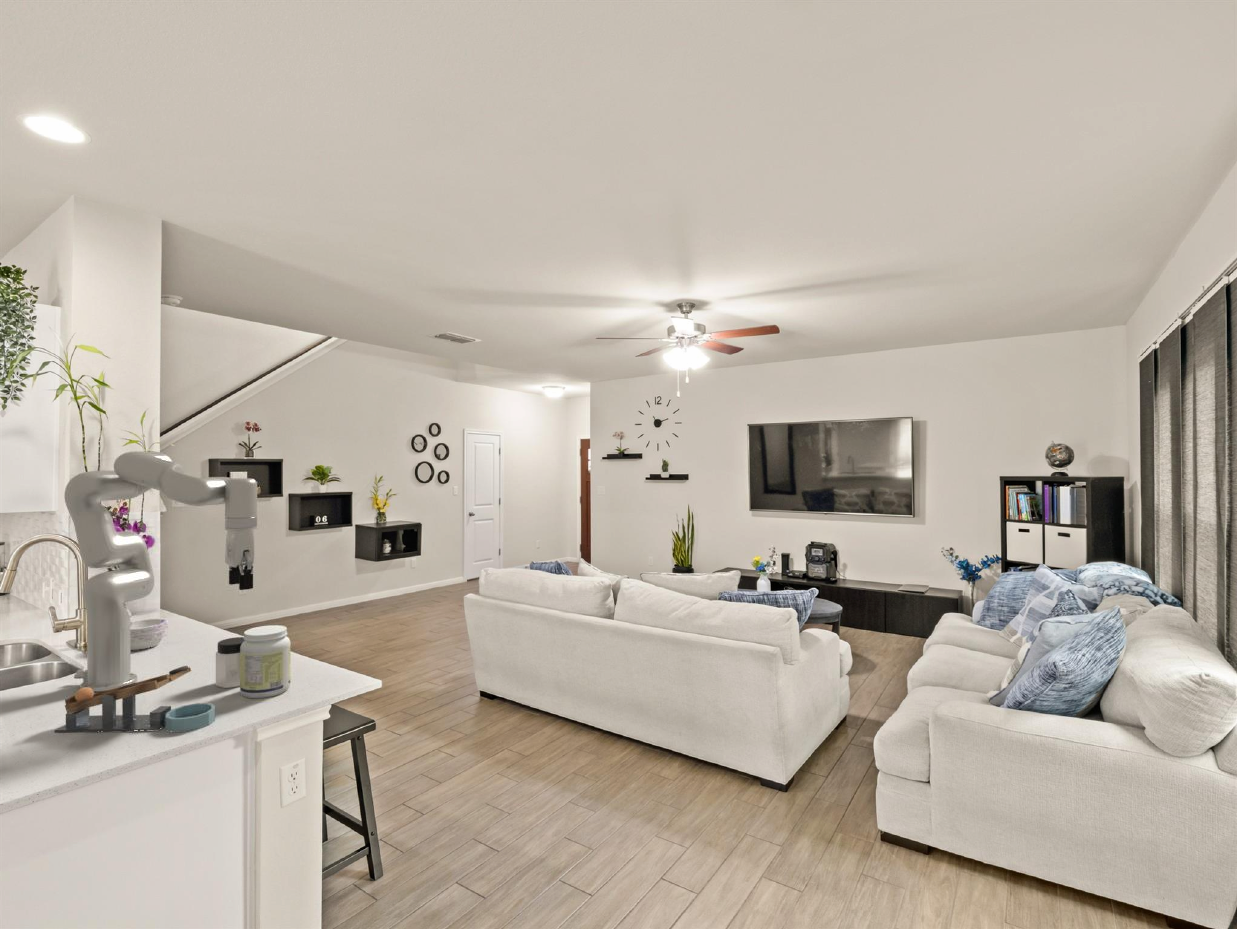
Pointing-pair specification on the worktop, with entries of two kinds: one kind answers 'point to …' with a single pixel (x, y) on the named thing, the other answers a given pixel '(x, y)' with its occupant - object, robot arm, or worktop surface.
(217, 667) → the jar
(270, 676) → the supplement tub
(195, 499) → the robot arm
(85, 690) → the ball
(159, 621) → the paper bowls
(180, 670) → the lever
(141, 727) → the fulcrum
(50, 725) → the worktop surface
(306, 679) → the worktop surface
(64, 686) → the worktop surface
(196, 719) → the dish
